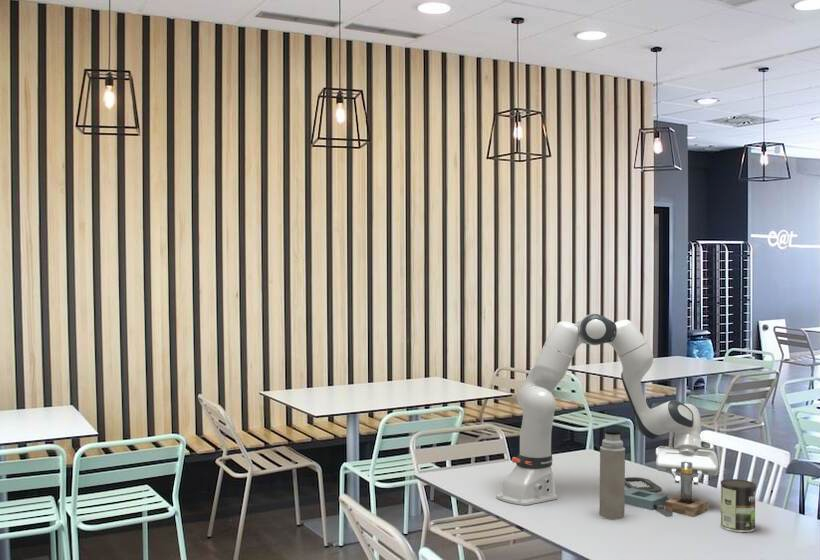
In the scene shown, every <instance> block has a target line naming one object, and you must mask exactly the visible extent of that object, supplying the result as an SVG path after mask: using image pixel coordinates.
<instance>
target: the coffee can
mask: <svg viewBox="0 0 820 560" xmlns="http://www.w3.org/2000/svg"><path fill="white" fill-rule="evenodd" d="M756 487H757V485H756V483H755V482H752V481H750V480H744V479H736V478H727V479H723V480H720V528H722V529H723V528H724V529H723V530H726V531H729V530H730V532H733V531H734V533H741V532H747V533H752V532H751V531H753V532H755V531H756ZM754 530H755V531H754Z"/></svg>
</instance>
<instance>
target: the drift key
mask: <svg viewBox="0 0 820 560" xmlns="http://www.w3.org/2000/svg"><path fill="white" fill-rule="evenodd" d="M653 511H656V512H658V513H660V514H661V515H664V516H665V517H666V518H667V517H668V518H669V517H673V512H671V511H669V510H667V509H665V505H664V506H663V505H661V504H654V510H653Z"/></svg>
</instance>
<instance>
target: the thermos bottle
mask: <svg viewBox="0 0 820 560" xmlns="http://www.w3.org/2000/svg"><path fill="white" fill-rule="evenodd" d="M604 433H605V434H604V438H603V439H602V442H601V446H600V447H599V516H600V517H601V518H603V517H604V518H603V519H607V520H620V519H624V518H625V505H626V504H625V490H626V489H625V487H626V485H625V478H626V475H625V473H626V448H625V447H624V441H623V440H621V430H618V429H605V431H604Z"/></svg>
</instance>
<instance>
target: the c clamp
mask: <svg viewBox="0 0 820 560" xmlns="http://www.w3.org/2000/svg"><path fill="white" fill-rule="evenodd" d="M639 481H642V482H641V483H643V482H644V483H643V484H645V483H646V484H647V485H646V484H645V485H646V486H647V487H646V486H643V487H642V486H640V487H637V486H635V485H633V484H631V483H630V482H639ZM648 485H649V486H650V487H649V486H648ZM625 487H628V489H629V488H636V489H640V490H645V491H649V492H654V493H659V492H661V491H662V490H663V488H662V487H660V486H659V485H658V484H656V483H655V482H654V481H652V480H650V479H648V478H644V477H637V476H636V477H635V476H634V477H633V476H632V477H629V476H628V477H625ZM658 491H659V492H658Z"/></svg>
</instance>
